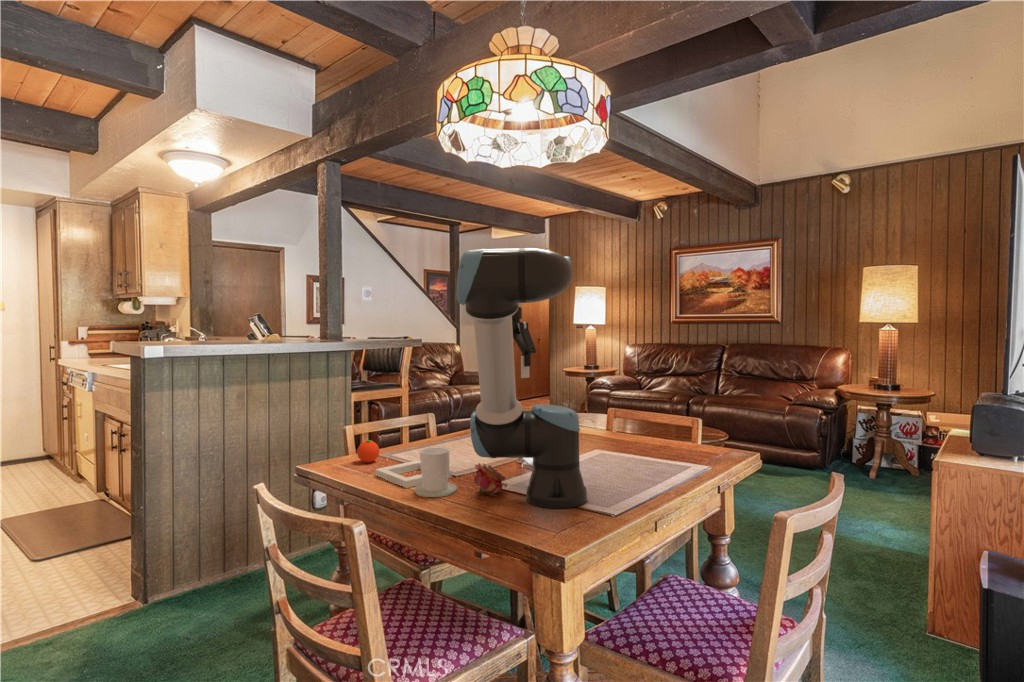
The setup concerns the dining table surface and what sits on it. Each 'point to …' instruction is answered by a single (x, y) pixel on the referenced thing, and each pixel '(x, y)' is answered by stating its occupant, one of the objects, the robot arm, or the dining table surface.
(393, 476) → the board
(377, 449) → the clementine
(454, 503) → the dining table surface
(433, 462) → the white cup
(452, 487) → the coaster
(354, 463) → the dining table surface
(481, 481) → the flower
